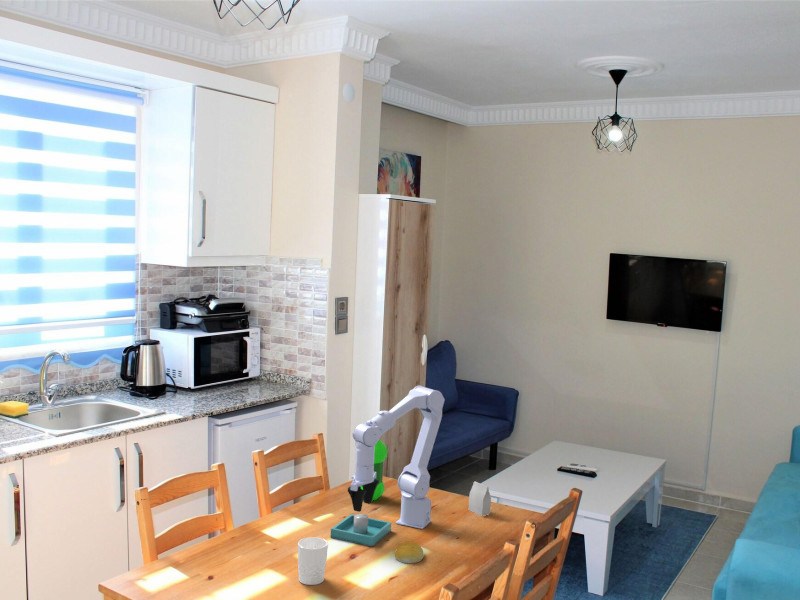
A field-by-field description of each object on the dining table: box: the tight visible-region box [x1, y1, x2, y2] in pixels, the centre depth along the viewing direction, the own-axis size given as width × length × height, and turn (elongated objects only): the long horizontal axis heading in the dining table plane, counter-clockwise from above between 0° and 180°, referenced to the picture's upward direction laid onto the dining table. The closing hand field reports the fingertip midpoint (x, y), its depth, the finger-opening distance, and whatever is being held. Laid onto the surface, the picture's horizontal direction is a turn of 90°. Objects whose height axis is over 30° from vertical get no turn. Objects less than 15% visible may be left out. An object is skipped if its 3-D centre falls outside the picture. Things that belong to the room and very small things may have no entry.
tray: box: [330, 513, 392, 547], centre depth 233 cm, size 14×14×3 cm
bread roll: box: [393, 541, 424, 564], centre depth 217 cm, size 8×9×4 cm
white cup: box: [297, 536, 329, 586], centre depth 200 cm, size 8×8×10 cm
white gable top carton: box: [468, 481, 492, 517], centre depth 256 cm, size 4×7×10 cm, turn 37°
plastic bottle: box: [361, 439, 389, 502], centre depth 264 cm, size 10×10×25 cm
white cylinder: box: [353, 513, 369, 535], centre depth 233 cm, size 4×4×5 cm
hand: (362, 506), depth 232 cm, fingers open, 7 cm apart
